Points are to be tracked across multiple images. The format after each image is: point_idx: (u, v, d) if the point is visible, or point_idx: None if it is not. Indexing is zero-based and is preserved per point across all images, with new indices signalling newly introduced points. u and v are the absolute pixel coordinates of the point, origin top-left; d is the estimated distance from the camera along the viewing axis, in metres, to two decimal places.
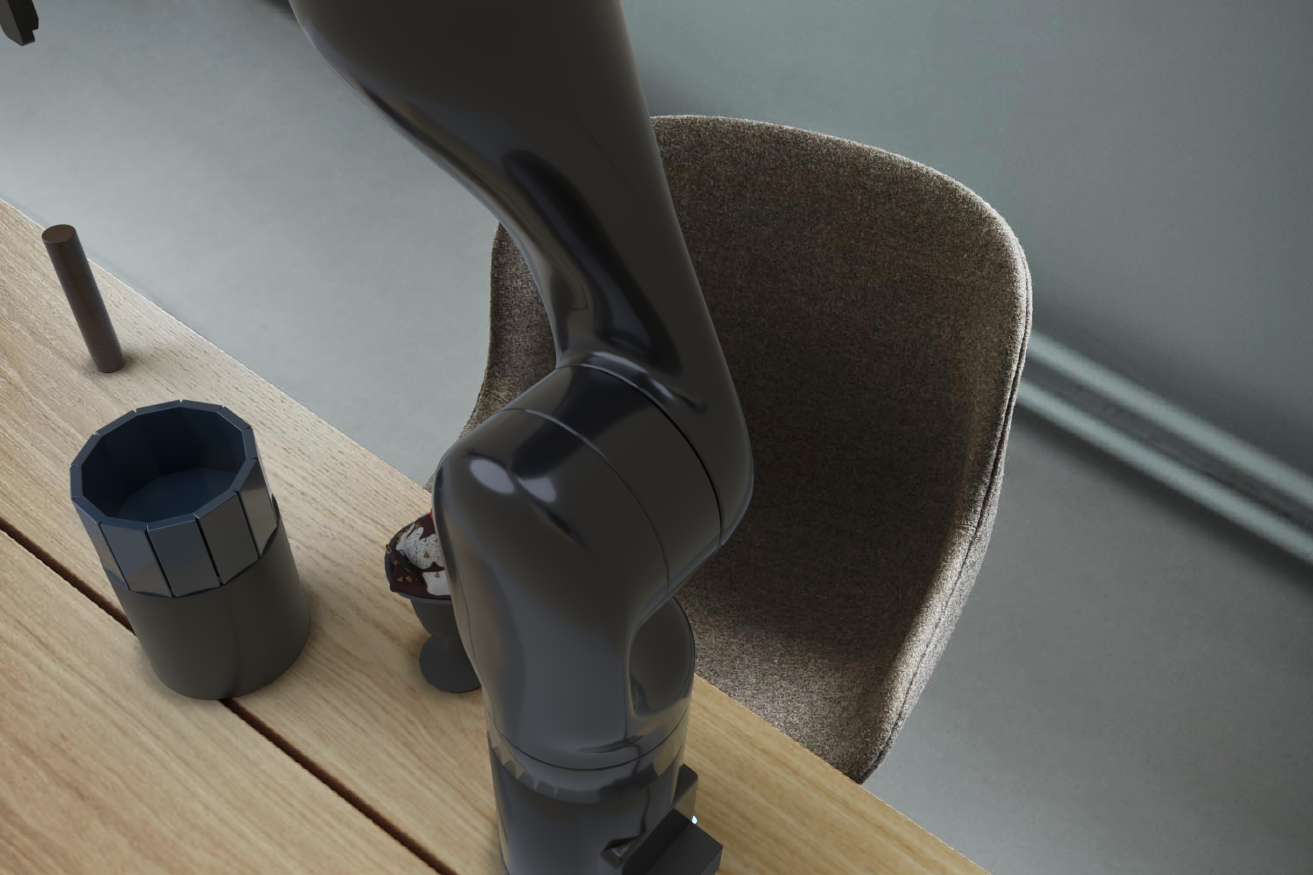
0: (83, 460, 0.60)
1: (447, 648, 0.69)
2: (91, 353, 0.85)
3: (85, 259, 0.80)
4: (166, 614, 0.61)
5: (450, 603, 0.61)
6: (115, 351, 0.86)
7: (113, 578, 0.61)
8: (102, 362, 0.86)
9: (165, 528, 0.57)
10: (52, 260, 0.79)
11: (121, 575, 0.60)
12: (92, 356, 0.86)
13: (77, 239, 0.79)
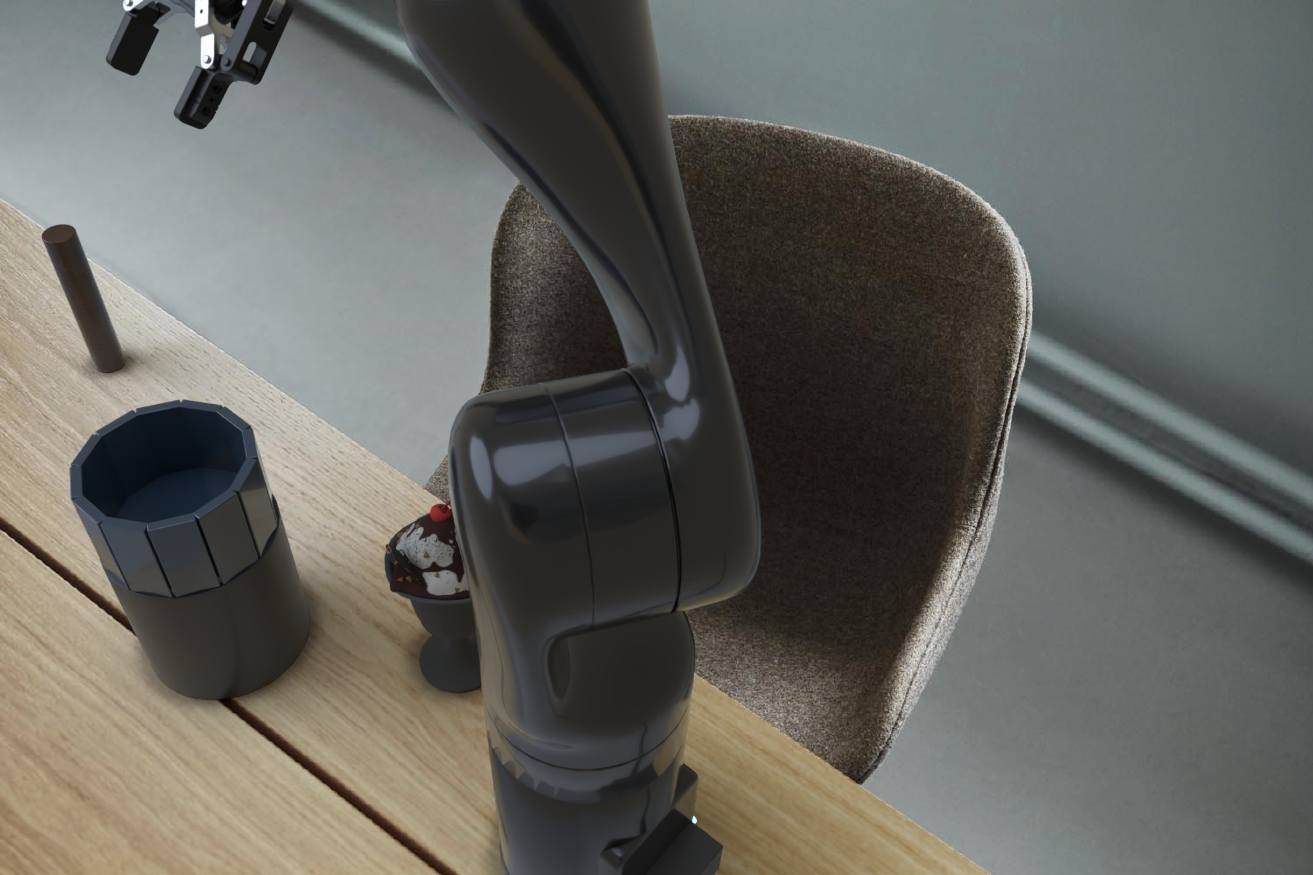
0: (83, 460, 0.60)
1: (447, 648, 0.69)
2: (91, 353, 0.85)
3: (85, 259, 0.80)
4: (166, 614, 0.61)
5: (450, 603, 0.61)
6: (115, 351, 0.86)
7: (113, 578, 0.61)
8: (102, 362, 0.86)
9: (165, 528, 0.57)
10: (52, 260, 0.79)
11: (121, 575, 0.60)
12: (92, 356, 0.86)
13: (77, 239, 0.79)
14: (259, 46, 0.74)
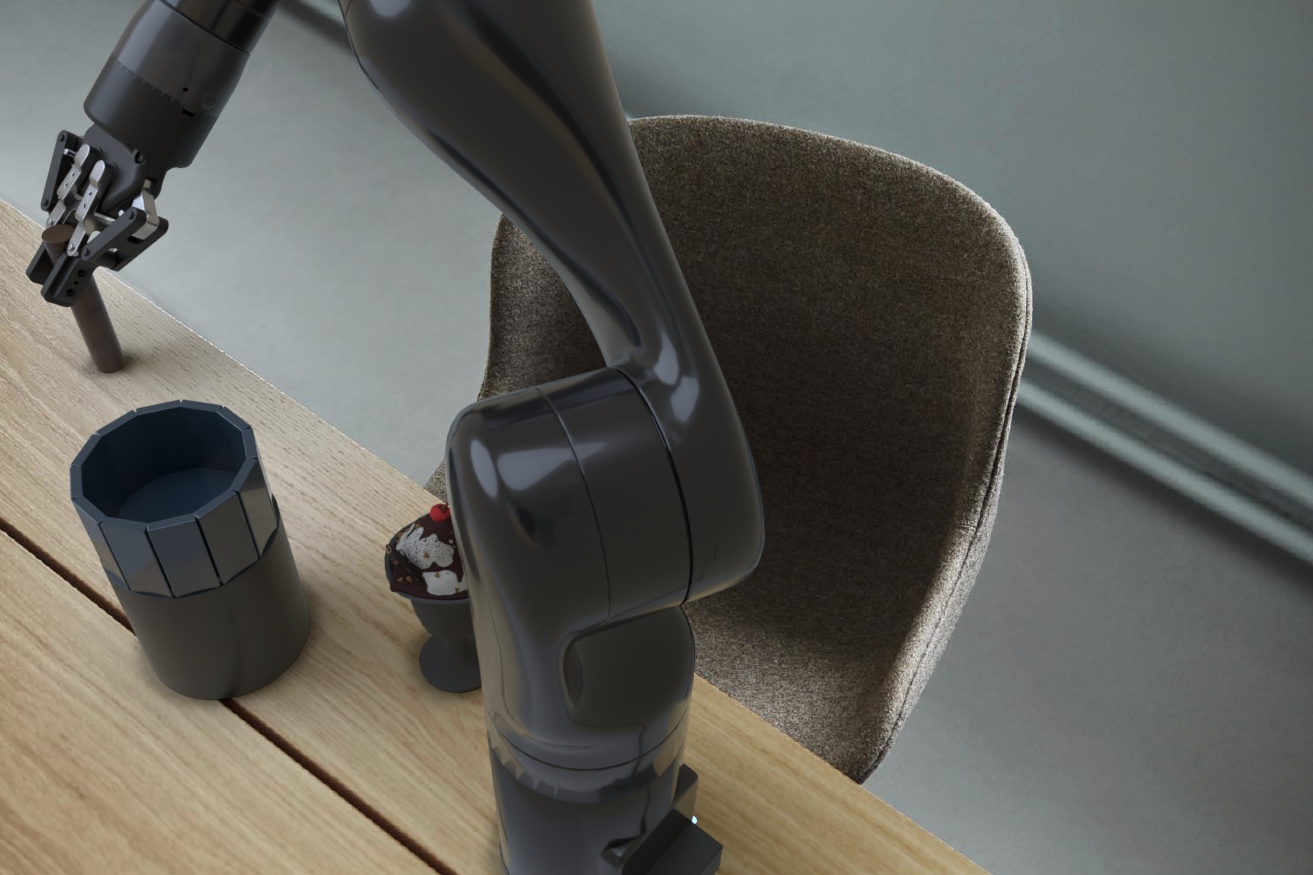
0: (83, 460, 0.60)
1: (447, 648, 0.69)
2: (91, 353, 0.85)
3: None
4: (166, 614, 0.61)
5: (450, 603, 0.61)
6: (115, 351, 0.86)
7: (113, 578, 0.61)
8: (102, 363, 0.86)
9: (165, 528, 0.57)
10: (52, 260, 0.79)
11: (121, 575, 0.60)
12: (92, 356, 0.86)
13: None
14: None
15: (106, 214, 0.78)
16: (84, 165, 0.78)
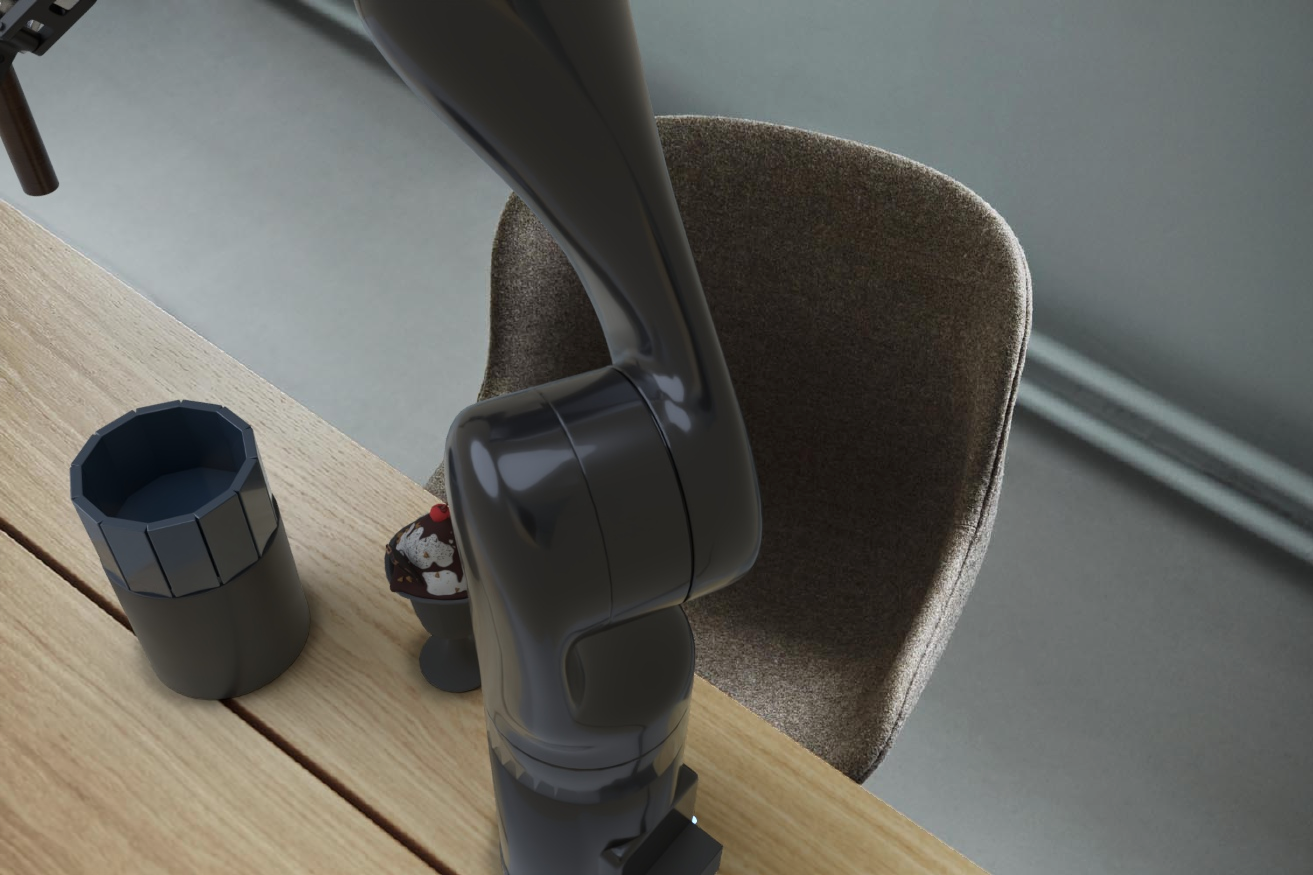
0: (83, 460, 0.60)
1: (447, 648, 0.69)
2: (17, 171, 0.73)
3: None
4: (166, 614, 0.61)
5: (450, 603, 0.61)
6: (45, 170, 0.74)
7: (113, 578, 0.61)
8: (31, 183, 0.74)
9: (165, 528, 0.57)
10: None
11: (121, 575, 0.60)
12: (18, 175, 0.73)
13: None
14: None
15: None
16: None
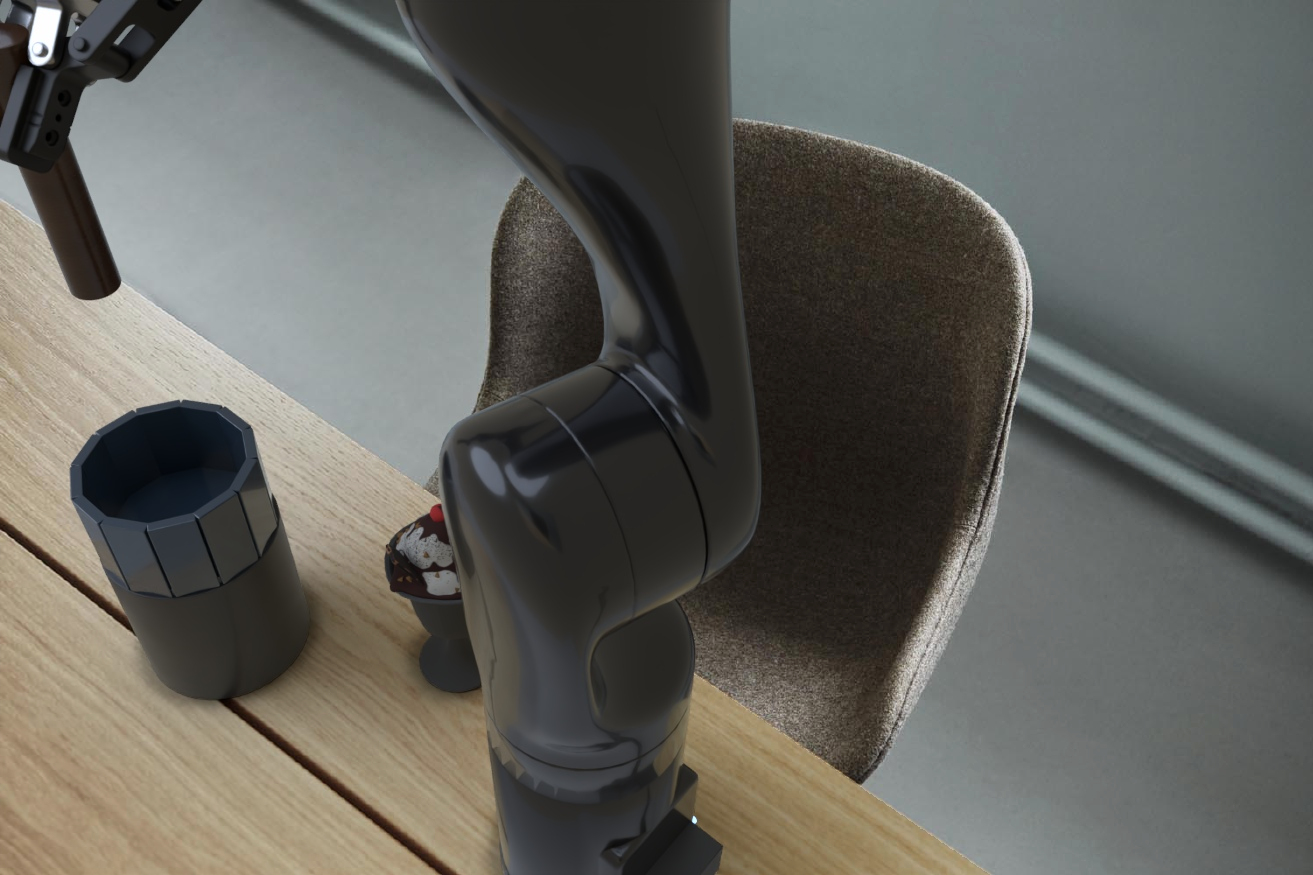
0: (83, 460, 0.60)
1: (447, 648, 0.69)
2: (71, 269, 0.50)
3: None
4: (166, 614, 0.61)
5: (450, 603, 0.61)
6: (109, 257, 0.51)
7: (113, 578, 0.61)
8: (93, 282, 0.51)
9: (165, 528, 0.57)
10: None
11: (121, 575, 0.60)
12: (73, 275, 0.50)
13: None
14: None
15: None
16: None
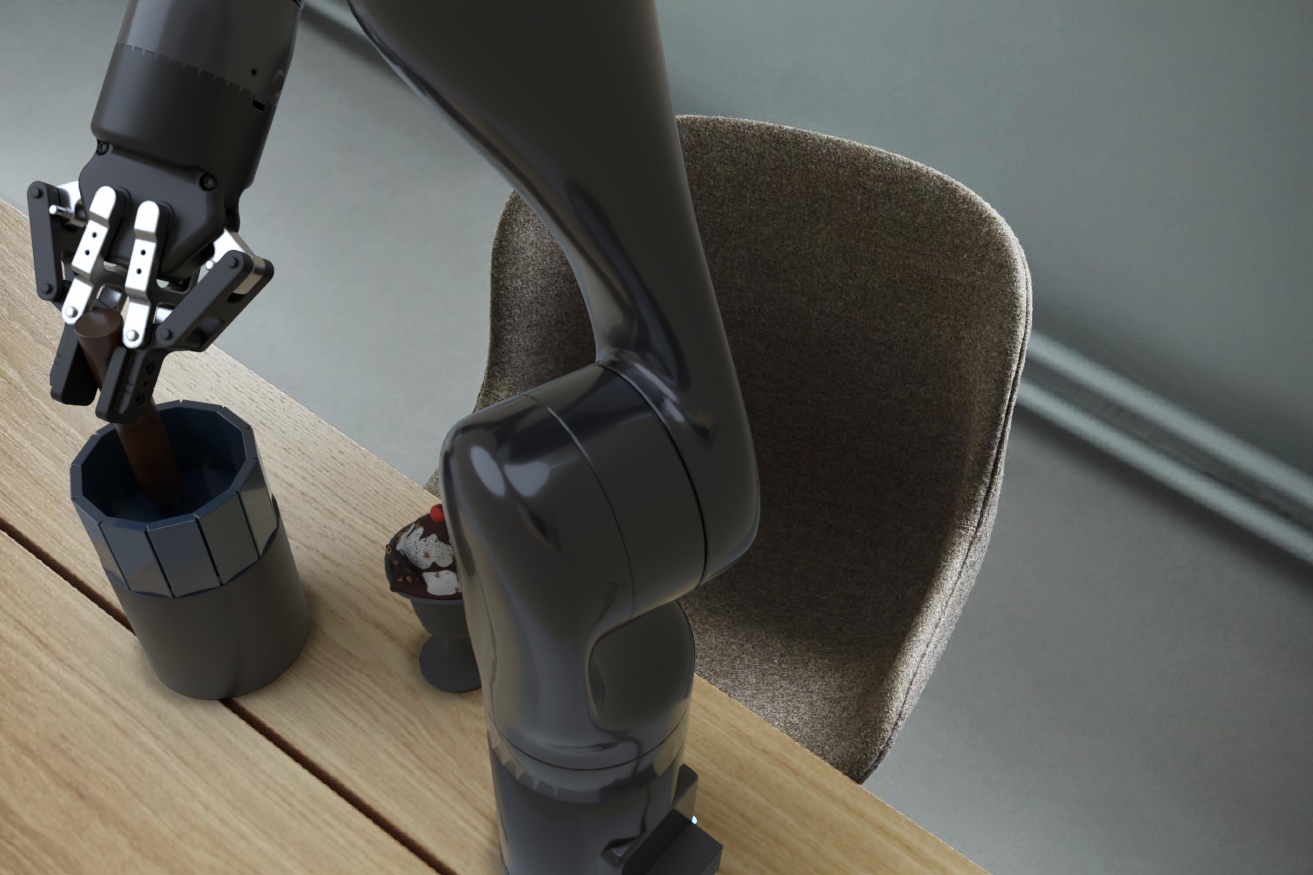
0: (83, 460, 0.60)
1: (447, 648, 0.69)
2: (147, 482, 0.61)
3: None
4: (166, 614, 0.61)
5: (450, 603, 0.61)
6: (177, 470, 0.62)
7: (113, 578, 0.61)
8: (164, 490, 0.62)
9: (165, 528, 0.57)
10: (96, 363, 0.55)
11: (121, 575, 0.60)
12: (148, 486, 0.61)
13: None
14: None
15: (168, 276, 0.55)
16: (112, 217, 0.54)
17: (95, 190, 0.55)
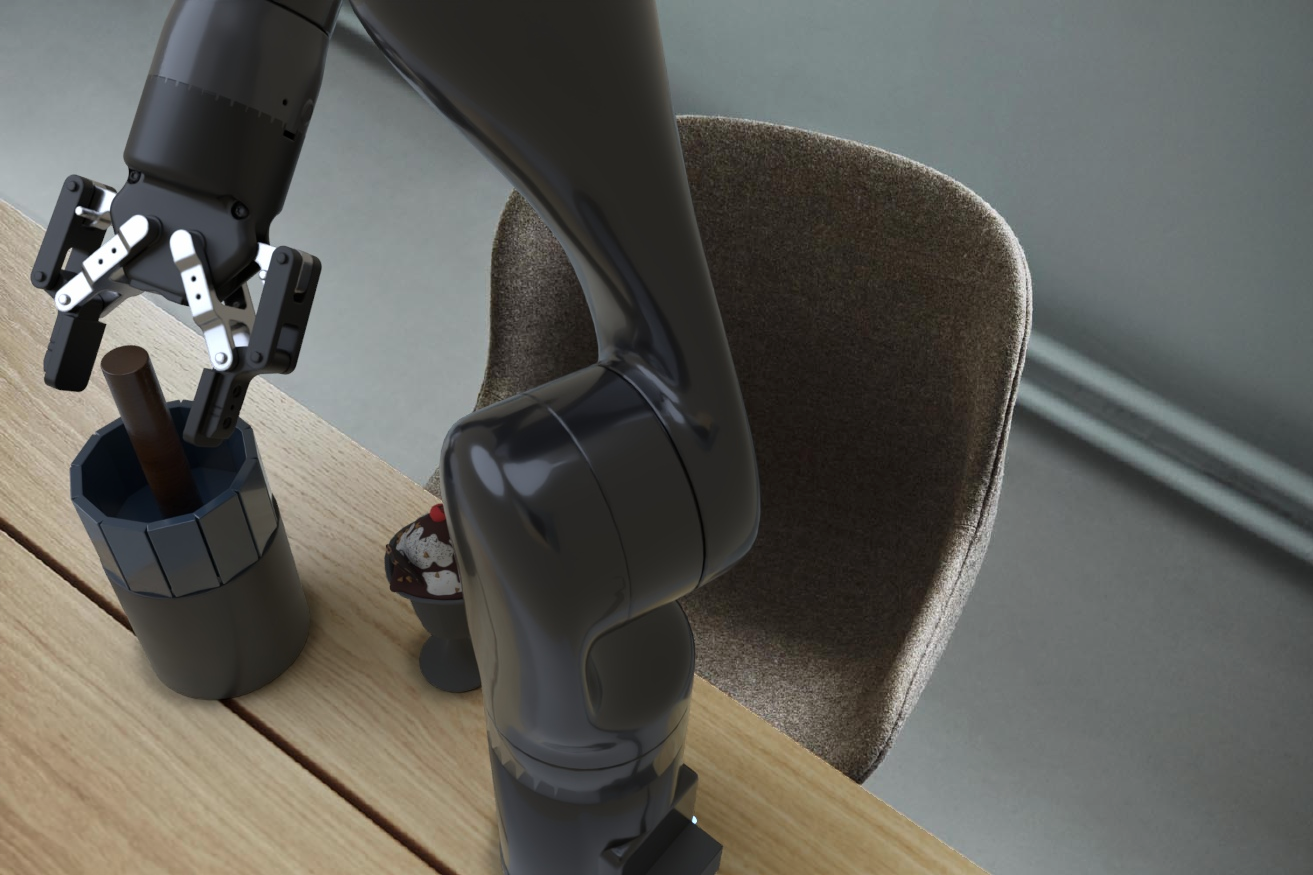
0: (83, 460, 0.60)
1: (447, 648, 0.69)
2: (170, 515, 0.61)
3: (160, 386, 0.57)
4: (166, 614, 0.61)
5: (450, 603, 0.61)
6: (199, 502, 0.62)
7: (113, 578, 0.61)
8: None
9: (165, 528, 0.57)
10: (123, 400, 0.55)
11: (121, 575, 0.60)
12: None
13: None
14: (285, 324, 0.55)
15: None
16: (136, 246, 0.55)
17: (127, 218, 0.56)
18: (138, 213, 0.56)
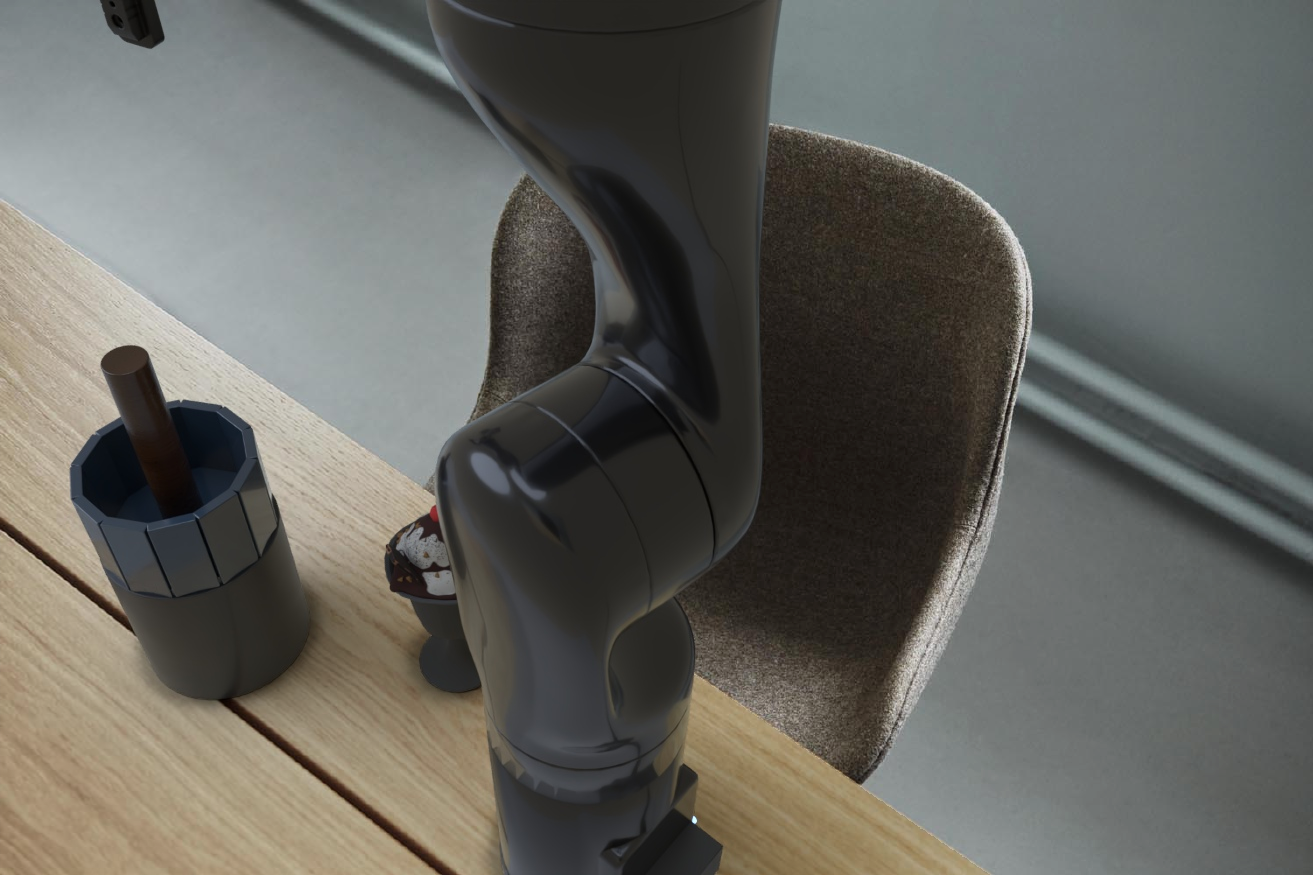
0: (83, 460, 0.60)
1: (447, 648, 0.69)
2: (170, 515, 0.61)
3: (160, 386, 0.57)
4: (166, 614, 0.61)
5: (450, 603, 0.61)
6: (199, 502, 0.62)
7: (113, 578, 0.61)
8: None
9: (165, 528, 0.57)
10: (123, 400, 0.55)
11: (121, 575, 0.60)
12: None
13: None
14: None
15: None
16: None
17: None
18: None
